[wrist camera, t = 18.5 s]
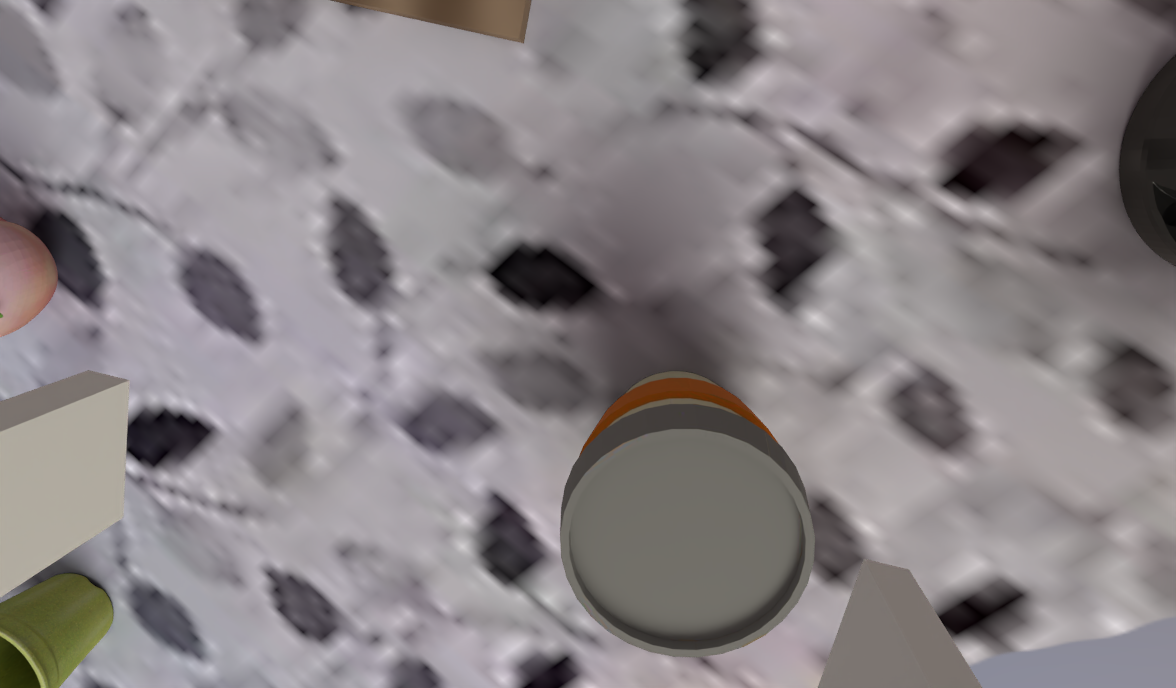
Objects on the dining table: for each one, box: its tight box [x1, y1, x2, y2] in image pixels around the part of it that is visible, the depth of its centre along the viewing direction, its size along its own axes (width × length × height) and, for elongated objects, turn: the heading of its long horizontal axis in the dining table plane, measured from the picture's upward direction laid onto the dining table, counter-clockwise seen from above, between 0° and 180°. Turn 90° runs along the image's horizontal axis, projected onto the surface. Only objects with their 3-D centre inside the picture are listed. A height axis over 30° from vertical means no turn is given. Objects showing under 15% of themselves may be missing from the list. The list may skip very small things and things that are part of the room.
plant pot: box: [0, 573, 113, 688], centre depth 52 cm, size 9×9×9 cm
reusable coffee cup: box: [560, 371, 815, 657], centre depth 41 cm, size 13×12×15 cm
